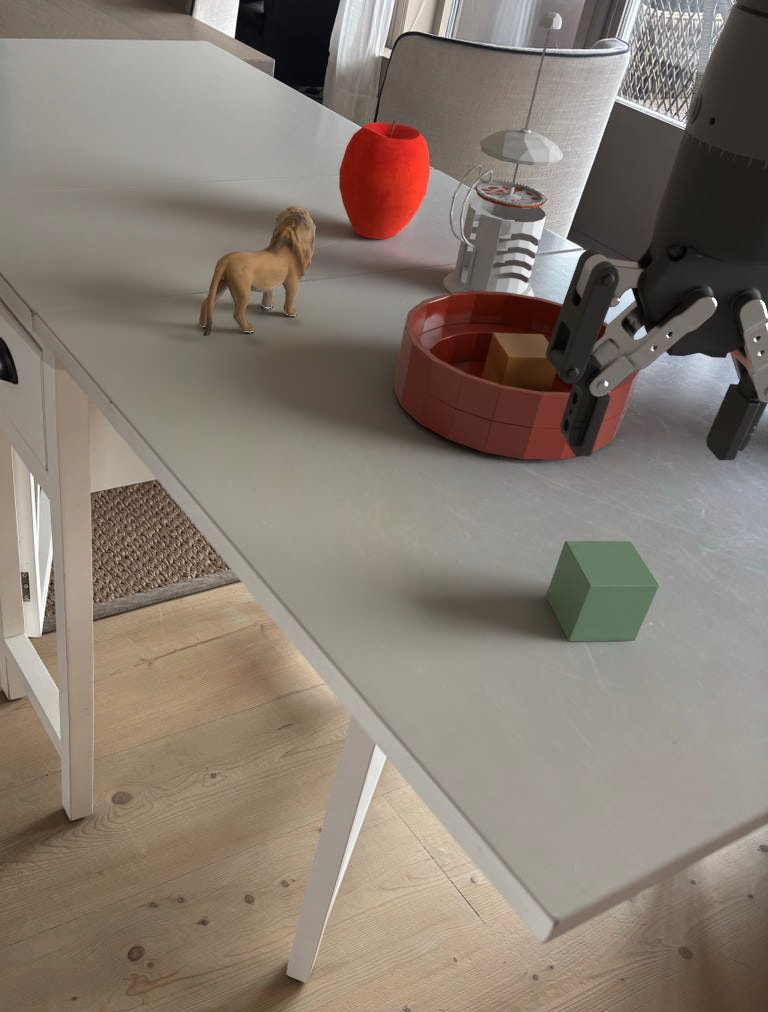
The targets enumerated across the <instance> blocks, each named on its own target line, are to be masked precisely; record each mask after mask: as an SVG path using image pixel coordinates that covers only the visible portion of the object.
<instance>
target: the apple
mask: <svg viewBox="0 0 768 1012" xmlns="http://www.w3.org/2000/svg"><path fill="white" fill-rule="evenodd" d="M338 171H339V177H338V179H339V182H338V183H339V184H338V188H339V192H340V196H341V200H342V204H343V207H344V210H345V213H346V215H347V218H348V220H349V223H350V225H351V228H352V229H353V230H354V232H355V233H356V234H357V235H358V236H360V237H362V238H367V239H377V240H388V239H392V238H394V237H395V236H397V235H398V234H399V233H400V232H401V231H402V230H404V228H406V226H407V225H408V224H409V223H411V220H412V219H413V218H414V216H415V215H416V213H417V212H418V211H419V208H420V207H421V204H422V203H423V201H424V199H425V196H426V194H427V189H428V185H429V181H430V175H431V166H430V155H429V148H428V143H427V140H426V139H425V137H424V136H423V135H422V134H421V132H420V131H419V130H418V129H416V128H414V127H412V126H409V125H406V124H399V123H398V124H397V121H396V120H393V122H392V123H387V122H370V123H366V124H365V125H363V126H362V127H361V128H359V129H358V130H357V131H356V132H354V133H353V135H352V136H351V138H350V140H349V141H348V143H347V145H346V148H345V150H344V154H343V157H342V160H341V164H340V166H339V170H338Z"/></svg>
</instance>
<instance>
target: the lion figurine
mask: <svg viewBox="0 0 768 1012" xmlns="http://www.w3.org/2000/svg"><path fill="white" fill-rule="evenodd" d="M275 222H276V223H275V224H274V229H273V231H272V234H271V235H272V236H271V238H270V242H269V245H268V246H267V247H265V248H263V249H260V250H257V251H252V252H246V251H232V252H228V253H226V254H225V255H223V256H222V257H221V258H219V260H217V262H216V264H215V267H214V272H213V275H212V278H211V281H210V287H209V290H208V294H207V296H206V298H205V299H204V300H203V301H202V303H201V305H200V313H199V319H198V325H199V326H200V325H201V326H205V327H206V328H204V331H203V333H202V336H203V337H209V336H210V335H211V334H212V331H213V326H212V324H213V325H214V322H213V315H214V314H213V312H214V305H215V304H216V303H217V302H218V301H219V300H220V299H221V298H222V297H223V295H224V294H225V293H226V291H227V290H229V293H230V296H231V298H232V301H233V304H234V311H233V315H232V319H233V320H234V322H236V324H237V325H238V328H239V329H240V331H242V332H243V331H249V332H250V331H254V330H255V331H256V328H255V326H254V325H253V324H252V323H247V321H246V318H245V312H246V309H247V306H248V303H249V301H250V298H251V294H252V293H251V292H255V293H262V298H261V303H260V306H261V305H263V306H264V307H272V306H273V305H275V303H274V298H273V293H274V290H275V289H276V288H279V287H280V286H281V285H282V286H283V289H284V293H285V298H284V303H283V313H284V312H285V313H286V314H288V315H296V314H297V315H298V311H297V310H296V309H295V308H293V307H294V304H295V301H296V296H297V293H298V289H299V280H301V279H302V277H304V276H305V275H307V274H308V271H309V269H310V266H311V264H312V260H313V259H312V257H313V254H314V247H315V242H316V234H315V233H316V228H317V227H316V224H315V222H313V219H312V217H311V216H310V213H309V211H307V210H306V209H304V208H302V207H298V206H297V207H296V206H288V207H286V208H285V210H281V211H280V212H279V213H277V215H276V216H275ZM263 309H264V310H266V309H265V308H263ZM272 309H273V308H271V309H270V310H272ZM285 313H284V314H285ZM285 316H286V317H290V318H296V317H297V316H294V317H292V316H287V315H285ZM201 326H200V327H201ZM255 331H254V332H255Z"/></svg>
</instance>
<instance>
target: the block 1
mask: <svg viewBox="0 0 768 1012" xmlns="http://www.w3.org/2000/svg"><path fill="white" fill-rule="evenodd" d="M548 345H549V342H548V341H547V340H546V338H545V337H544V335H542V334H516V333H493V335H492V339H491V343H490V347H489V351H488V355H487V359H486V363H485V368H484V372H483V376H482V379H485V380H488V381H491V382H494V383H497V384H500V385H504V386H510V387H515V388H521V389H527V390H533V391H538V392H550V391H551V387H552V384H553V381H554V377H555V374H556V371H555V369H554V368H553V366H552V365H551V364H550V362H549V361H548V359H547V358H546V350H547V347H548Z"/></svg>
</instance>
